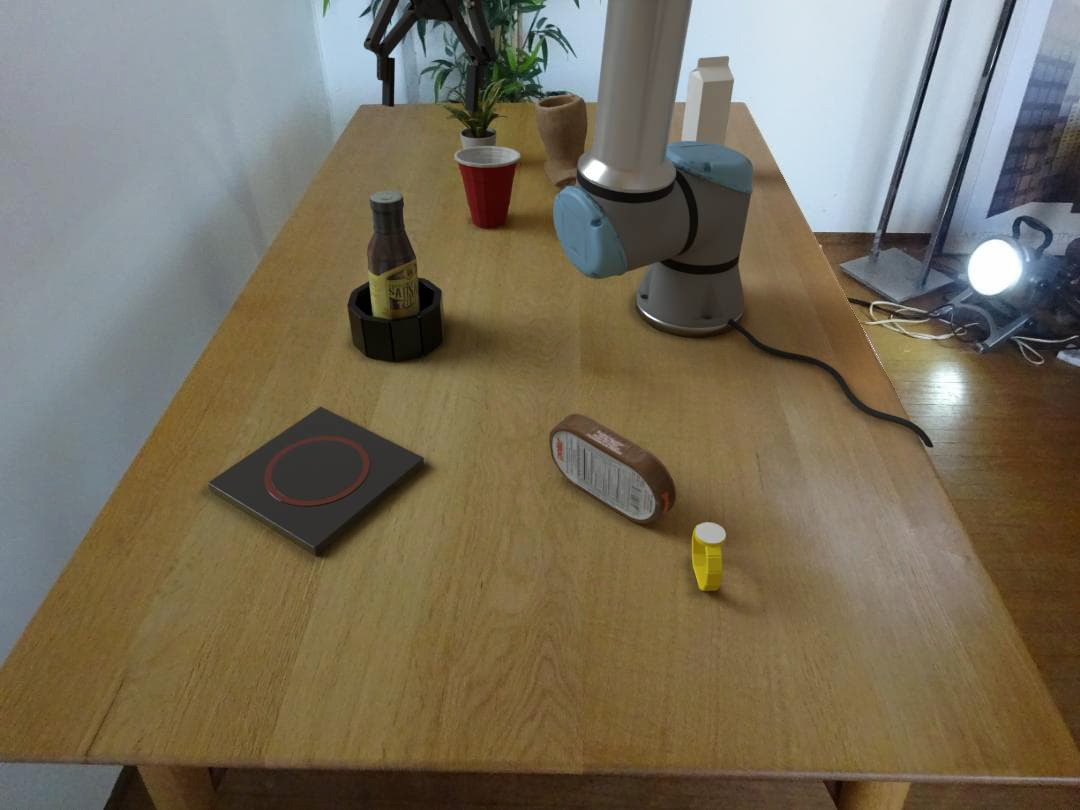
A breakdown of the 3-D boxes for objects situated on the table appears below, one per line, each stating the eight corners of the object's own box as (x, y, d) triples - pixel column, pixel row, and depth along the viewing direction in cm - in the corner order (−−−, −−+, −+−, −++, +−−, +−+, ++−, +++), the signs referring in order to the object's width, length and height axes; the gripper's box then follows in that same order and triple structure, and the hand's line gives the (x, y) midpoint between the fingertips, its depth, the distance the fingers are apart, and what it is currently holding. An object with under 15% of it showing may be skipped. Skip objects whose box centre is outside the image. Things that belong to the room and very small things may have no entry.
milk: (718, 183, 152) (738, 60, 139) (689, 186, 151) (706, 62, 137) (705, 171, 157) (722, 51, 143) (676, 174, 156) (691, 53, 142)
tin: (673, 525, 82) (683, 463, 77) (654, 542, 80) (663, 480, 75) (562, 458, 90) (564, 398, 85) (543, 472, 88) (544, 411, 83)
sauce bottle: (398, 354, 106) (381, 212, 94) (365, 338, 109) (345, 199, 97) (433, 333, 110) (421, 195, 98) (400, 318, 113) (385, 182, 101)
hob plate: (424, 465, 89) (423, 456, 88) (316, 556, 78) (313, 547, 77) (322, 414, 96) (320, 405, 95) (209, 491, 85) (206, 481, 84)
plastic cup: (524, 209, 142) (524, 142, 135) (517, 236, 134) (516, 166, 126) (463, 206, 143) (460, 139, 136) (452, 233, 134) (448, 163, 127)
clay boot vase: (530, 166, 158) (530, 87, 149) (590, 163, 160) (593, 85, 150) (542, 197, 146) (543, 114, 137) (606, 194, 148) (611, 111, 139)
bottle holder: (463, 329, 111) (460, 291, 107) (401, 372, 103) (396, 332, 99) (397, 304, 116) (393, 266, 112) (334, 343, 108) (327, 304, 104)
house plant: (477, 144, 168) (473, 61, 158) (530, 158, 161) (530, 73, 152) (431, 164, 159) (424, 78, 149) (486, 180, 152) (482, 91, 142)
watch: (724, 602, 74) (734, 558, 70) (694, 603, 74) (703, 559, 70) (710, 552, 79) (718, 509, 75) (682, 553, 79) (689, 510, 75)
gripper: (501, -39, 122) (491, 110, 130) (340, -67, 109) (341, 101, 117) (526, -41, 116) (515, 115, 124) (360, -71, 103) (359, 106, 111)
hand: (430, 108), depth 121 cm, fingers open, 13 cm apart
